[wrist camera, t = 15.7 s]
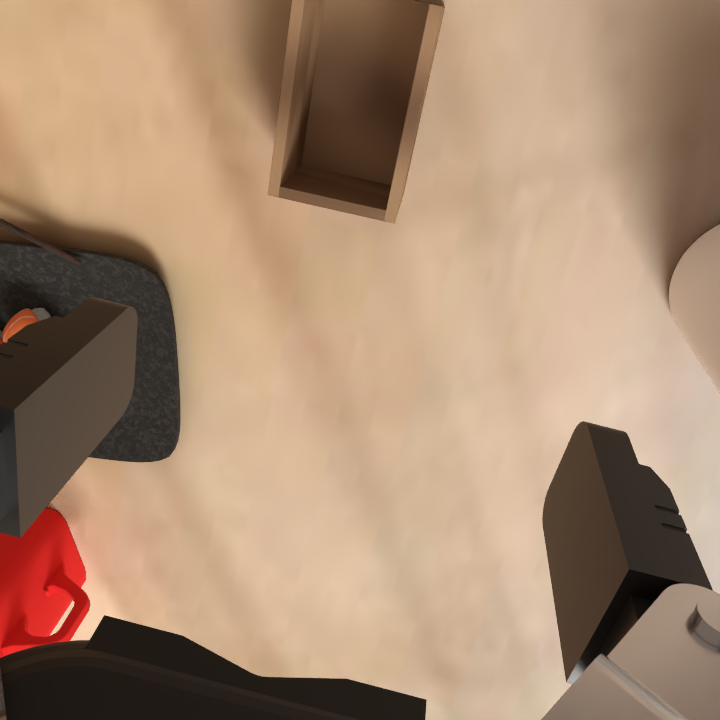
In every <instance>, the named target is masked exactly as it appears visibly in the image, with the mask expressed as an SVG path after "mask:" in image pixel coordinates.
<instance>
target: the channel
mask: <svg viewBox="0 0 720 720" xmlns="http://www.w3.org/2000/svg"><path fill="white" fill-rule="evenodd" d="M444 9H445V7H443V6H438V5H434V4H429V3H424V2H420V1H415V0H292V5H291V13H290V21H289V29H288V37H287V45H286V53H285V61H284V69H283V77H282V85H281V93H280V101H279V109H278V117H277V125H276V133H275V141H274V149H273V157H272V165H271V173H270V181H269V189H268V195H270V196H275V197H279V198H284V199H288V200H292V201H297V202H301V203H306V204H310V205H315V206H319V207H324V208H328V209H332V210H337V211H341V212H346V213H350V214H355V215H359V216H364V217H368V218H372V219H377V220H381V221H386V222H390V223H395V221H396V217H397V214H398V211H399V207H400V204H401V201H402V198H403V194H404V190H405V185H406V180H407V176H408V171H409V167H410V162H411V158H412V153H413V149H414V144H415V140H416V135H417V131H418V126H419V122H420V117H421V113H422V108H423V104H424V99H425V95H426V90H427V86H428V81H429V77H430V72H431V67H432V63H433V58H434V54H435V49H436V45H437V40H438V36H439V31H440V27H441V22H442V18H443V13H444Z"/></svg>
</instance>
